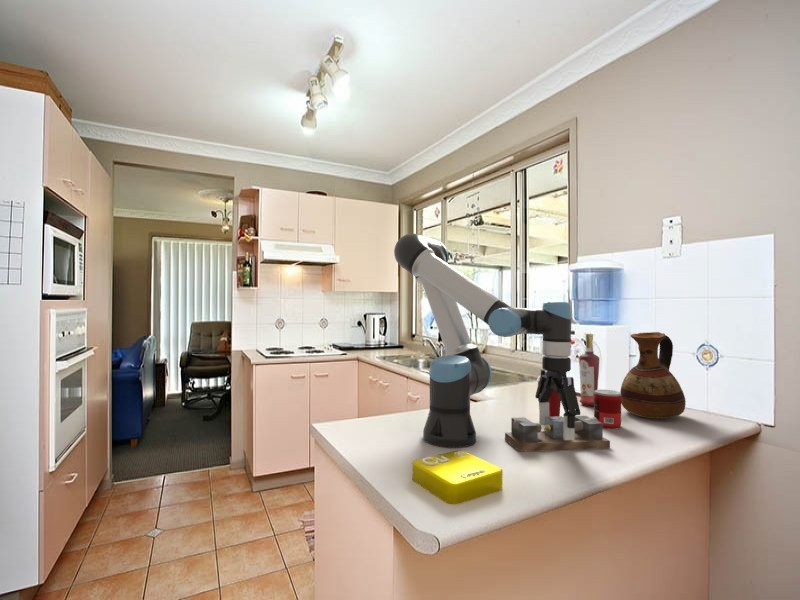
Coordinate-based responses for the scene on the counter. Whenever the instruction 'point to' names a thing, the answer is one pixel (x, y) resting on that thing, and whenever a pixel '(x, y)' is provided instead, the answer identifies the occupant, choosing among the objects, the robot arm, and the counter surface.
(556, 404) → the coffee cup
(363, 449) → the counter surface
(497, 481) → the element tile
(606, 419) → the canned food
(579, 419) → the shaft stand
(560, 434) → the coupler
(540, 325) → the robot arm
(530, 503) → the counter surface
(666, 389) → the ceramic pitcher
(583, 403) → the liquor
